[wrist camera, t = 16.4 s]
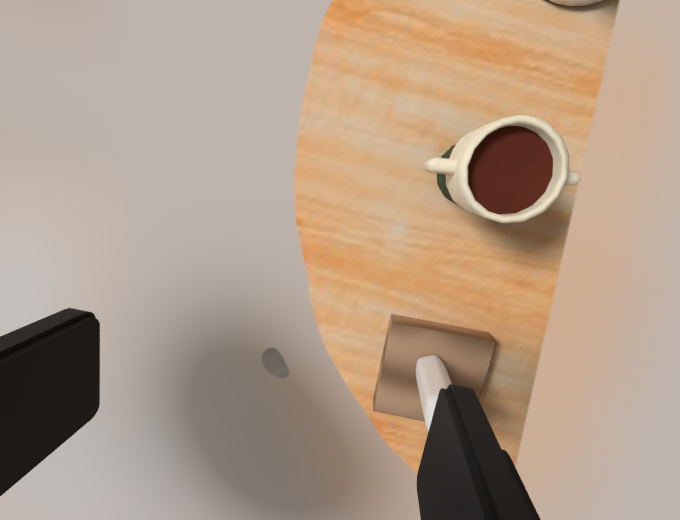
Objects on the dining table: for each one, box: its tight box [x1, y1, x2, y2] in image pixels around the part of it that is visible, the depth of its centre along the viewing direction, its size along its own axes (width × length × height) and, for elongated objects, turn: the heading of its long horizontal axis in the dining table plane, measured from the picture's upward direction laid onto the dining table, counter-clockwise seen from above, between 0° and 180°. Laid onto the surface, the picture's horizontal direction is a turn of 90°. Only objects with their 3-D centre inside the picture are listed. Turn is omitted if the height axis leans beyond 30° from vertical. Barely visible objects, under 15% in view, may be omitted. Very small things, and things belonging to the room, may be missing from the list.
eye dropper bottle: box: [416, 355, 452, 432], centre depth 33 cm, size 4×6×12 cm
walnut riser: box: [373, 314, 496, 421], centre depth 40 cm, size 11×11×2 cm
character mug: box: [424, 115, 581, 223], centre depth 30 cm, size 11×7×13 cm, turn 84°
